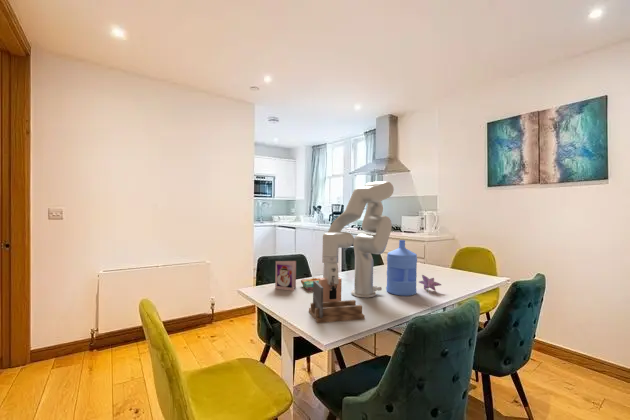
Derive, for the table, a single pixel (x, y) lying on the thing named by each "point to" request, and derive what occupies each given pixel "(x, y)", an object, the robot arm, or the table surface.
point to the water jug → (401, 271)
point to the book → (327, 289)
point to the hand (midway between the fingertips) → (329, 295)
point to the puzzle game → (309, 283)
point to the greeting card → (285, 275)
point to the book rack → (333, 308)
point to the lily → (429, 283)
